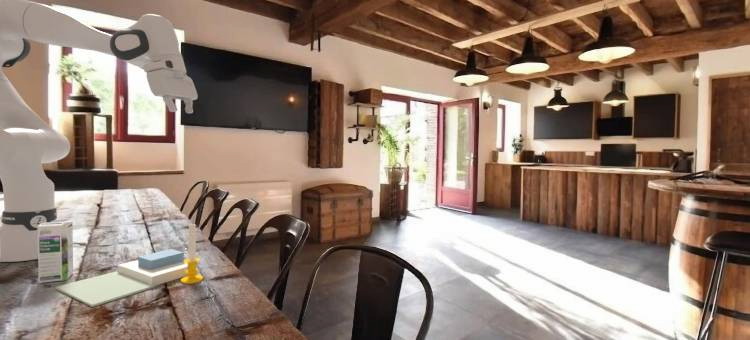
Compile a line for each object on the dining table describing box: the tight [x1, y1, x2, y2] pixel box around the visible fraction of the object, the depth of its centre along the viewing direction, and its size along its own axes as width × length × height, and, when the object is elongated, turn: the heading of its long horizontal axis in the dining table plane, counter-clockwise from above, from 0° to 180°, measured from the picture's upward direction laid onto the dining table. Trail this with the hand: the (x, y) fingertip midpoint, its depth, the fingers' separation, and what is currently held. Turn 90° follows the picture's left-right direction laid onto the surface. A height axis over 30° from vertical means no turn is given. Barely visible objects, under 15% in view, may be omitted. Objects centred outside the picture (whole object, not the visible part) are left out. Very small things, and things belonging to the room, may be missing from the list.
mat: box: [54, 270, 155, 308], centre depth 86 cm, size 18×13×1 cm
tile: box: [137, 248, 185, 270], centre depth 98 cm, size 6×9×2 cm, turn 151°
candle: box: [180, 221, 204, 285], centre depth 93 cm, size 5×5×16 cm
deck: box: [117, 259, 188, 287], centre depth 97 cm, size 16×12×2 cm
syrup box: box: [37, 220, 74, 284], centre depth 91 cm, size 6×6×14 cm
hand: (182, 112), depth 112 cm, fingers open, 8 cm apart
